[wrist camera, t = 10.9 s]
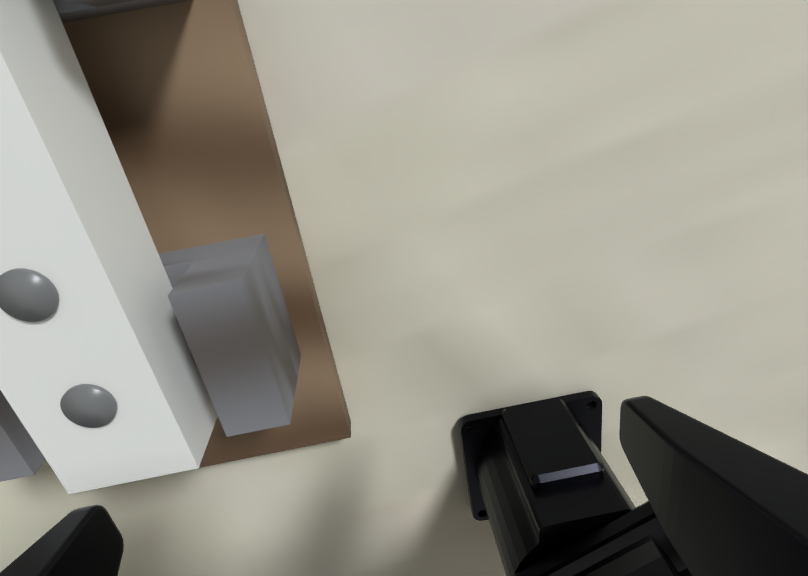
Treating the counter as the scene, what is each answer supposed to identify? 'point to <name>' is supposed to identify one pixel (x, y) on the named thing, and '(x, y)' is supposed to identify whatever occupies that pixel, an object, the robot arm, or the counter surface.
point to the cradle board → (209, 221)
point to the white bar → (83, 280)
